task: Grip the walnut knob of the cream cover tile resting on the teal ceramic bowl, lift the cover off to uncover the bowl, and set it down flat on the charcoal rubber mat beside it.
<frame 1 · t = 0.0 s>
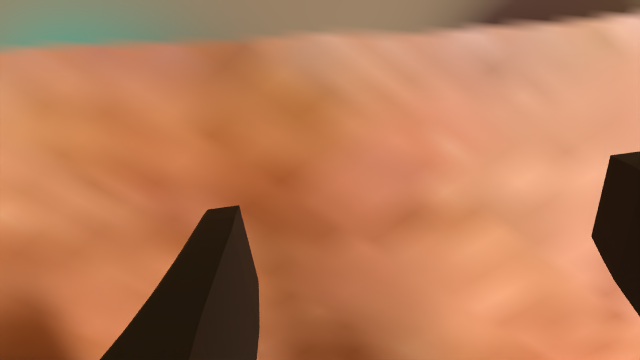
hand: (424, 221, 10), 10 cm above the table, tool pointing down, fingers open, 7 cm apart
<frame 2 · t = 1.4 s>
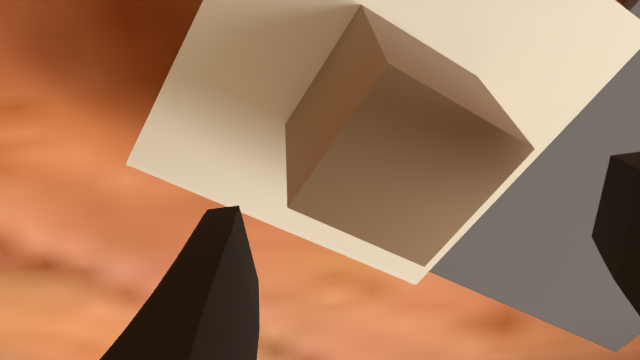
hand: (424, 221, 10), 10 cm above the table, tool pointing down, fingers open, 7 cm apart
mat: (627, 201, 24), on the table
cover: (375, 89, 16), point 4 cm above the table, touching bowl
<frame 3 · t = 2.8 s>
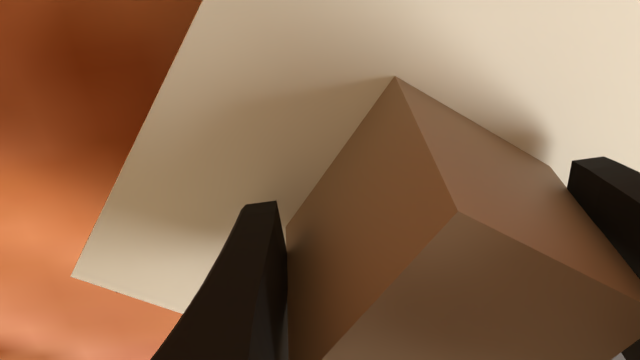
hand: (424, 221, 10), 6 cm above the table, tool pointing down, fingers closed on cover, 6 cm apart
cover: (407, 176, 12), point 4 cm above the table, touching bowl, gripper
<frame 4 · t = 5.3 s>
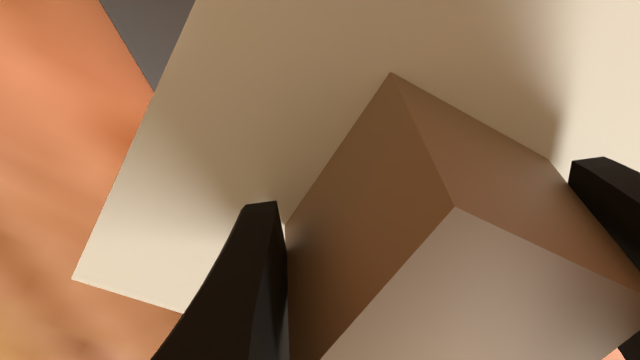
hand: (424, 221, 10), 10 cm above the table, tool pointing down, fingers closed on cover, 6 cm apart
mat: (366, 65, 20), on the table
cover: (405, 171, 12), point 9 cm above the table, touching gripper
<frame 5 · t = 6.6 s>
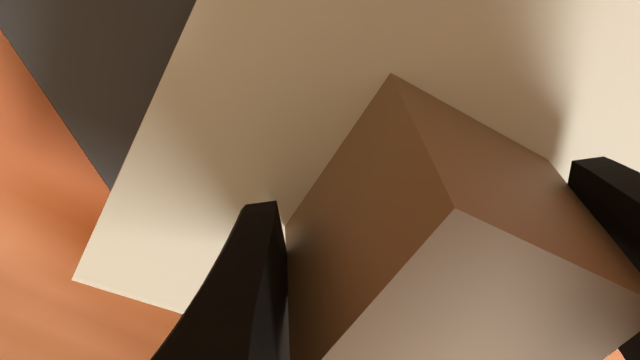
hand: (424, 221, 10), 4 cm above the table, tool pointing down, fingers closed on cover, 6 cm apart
mat: (387, 120, 14), on the table
cover: (405, 172, 12), point 3 cm above the table, touching gripper
when the fingers open (4 cm above the table, at t = 7.8 s): cover drops 1 cm, resting on mat.
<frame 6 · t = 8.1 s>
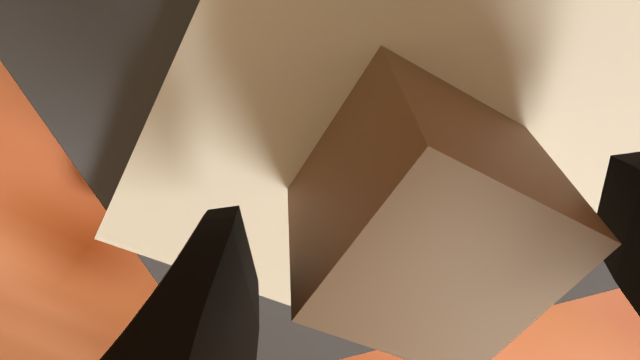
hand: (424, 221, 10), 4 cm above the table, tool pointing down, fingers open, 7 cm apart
mat: (391, 132, 13), on the table
cover: (397, 141, 13), point 1 cm above the table, touching mat
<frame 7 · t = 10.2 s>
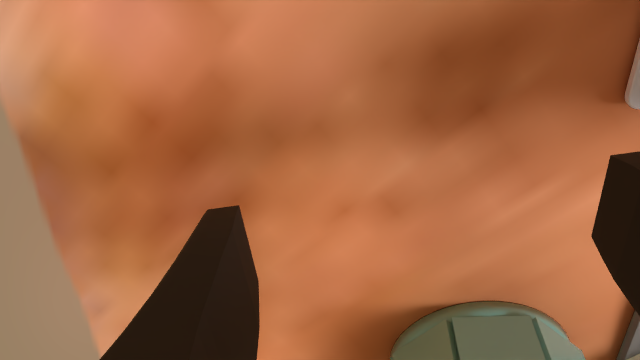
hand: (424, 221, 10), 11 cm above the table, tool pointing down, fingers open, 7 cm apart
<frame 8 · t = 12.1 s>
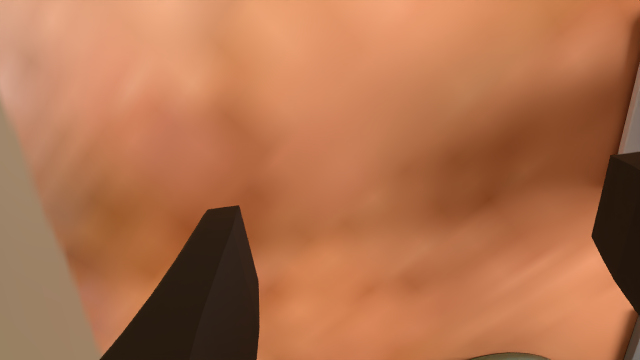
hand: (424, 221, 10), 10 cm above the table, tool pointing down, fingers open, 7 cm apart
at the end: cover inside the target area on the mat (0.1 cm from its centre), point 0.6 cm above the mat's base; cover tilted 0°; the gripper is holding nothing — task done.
